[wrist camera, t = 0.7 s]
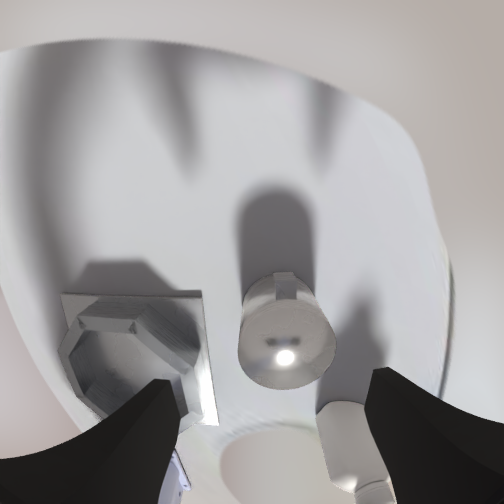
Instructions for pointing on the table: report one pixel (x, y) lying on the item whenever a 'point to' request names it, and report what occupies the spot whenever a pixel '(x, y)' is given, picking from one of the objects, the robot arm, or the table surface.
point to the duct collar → (138, 352)
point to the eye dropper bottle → (353, 453)
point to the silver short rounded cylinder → (284, 333)
